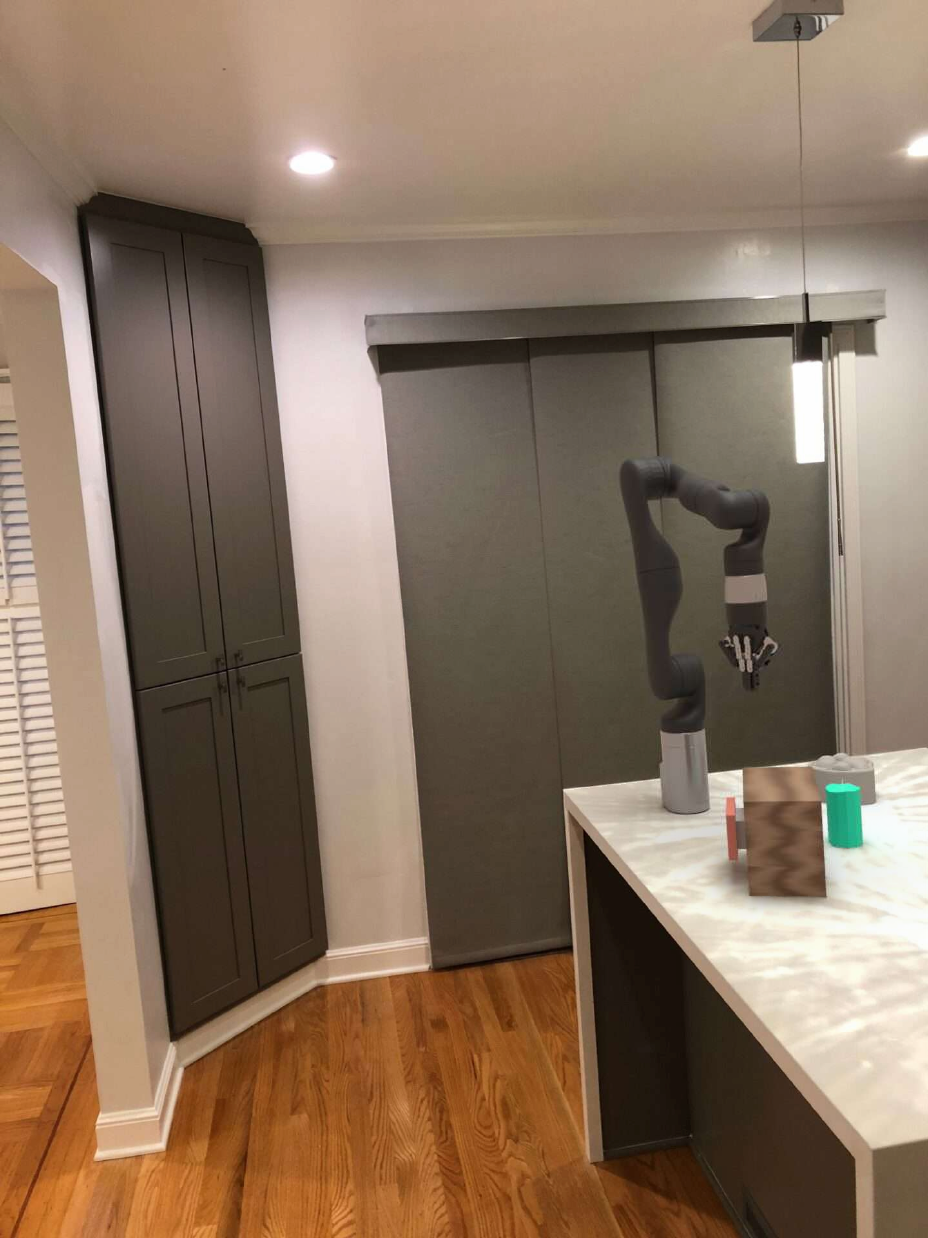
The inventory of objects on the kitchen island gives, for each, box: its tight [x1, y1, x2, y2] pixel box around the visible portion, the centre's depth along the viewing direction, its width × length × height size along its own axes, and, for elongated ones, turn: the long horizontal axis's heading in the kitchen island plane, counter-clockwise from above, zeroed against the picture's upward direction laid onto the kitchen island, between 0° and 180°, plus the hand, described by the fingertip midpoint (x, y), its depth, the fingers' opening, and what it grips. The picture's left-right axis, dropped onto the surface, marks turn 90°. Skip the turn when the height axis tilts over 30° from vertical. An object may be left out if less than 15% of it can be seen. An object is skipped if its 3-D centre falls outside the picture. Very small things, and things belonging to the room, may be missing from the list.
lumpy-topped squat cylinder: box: [807, 752, 877, 806], centre depth 203 cm, size 10×13×9 cm
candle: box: [826, 779, 864, 849], centre depth 177 cm, size 6×6×12 cm
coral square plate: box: [725, 796, 746, 862], centre depth 167 cm, size 10×10×8 cm
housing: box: [742, 765, 827, 898], centre depth 166 cm, size 12×20×16 cm, turn 164°
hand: (751, 690), depth 180 cm, fingers closed
